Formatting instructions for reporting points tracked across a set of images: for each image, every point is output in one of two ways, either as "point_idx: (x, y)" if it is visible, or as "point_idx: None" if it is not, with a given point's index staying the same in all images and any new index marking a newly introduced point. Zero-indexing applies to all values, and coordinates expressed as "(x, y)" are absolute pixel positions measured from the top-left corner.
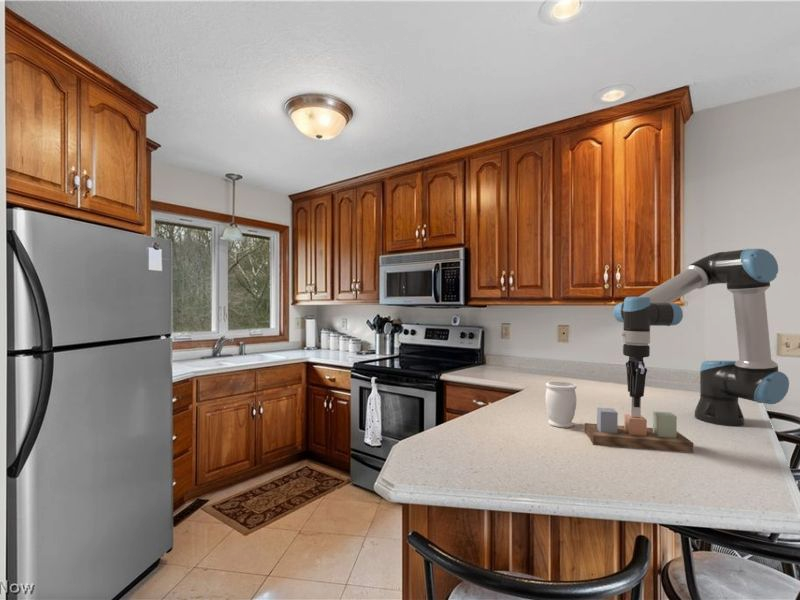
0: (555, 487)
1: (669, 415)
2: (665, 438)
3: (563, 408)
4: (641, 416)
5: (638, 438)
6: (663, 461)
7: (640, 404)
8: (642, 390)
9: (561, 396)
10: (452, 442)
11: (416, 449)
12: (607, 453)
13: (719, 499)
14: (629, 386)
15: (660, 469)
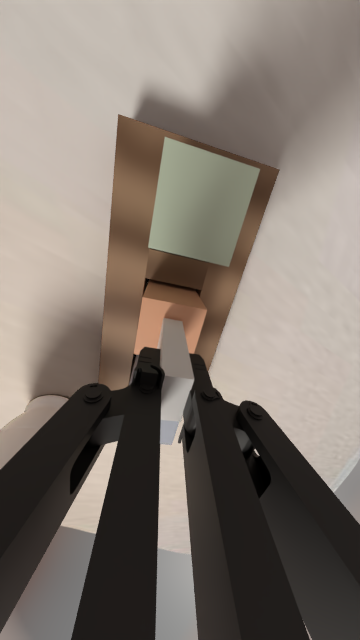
0: (325, 468)
1: (237, 205)
2: None
3: None
4: (160, 305)
5: (221, 329)
6: (294, 308)
7: (187, 351)
8: (296, 464)
9: None
10: (183, 529)
11: None
12: (238, 388)
13: None
14: (86, 474)
15: (324, 337)
